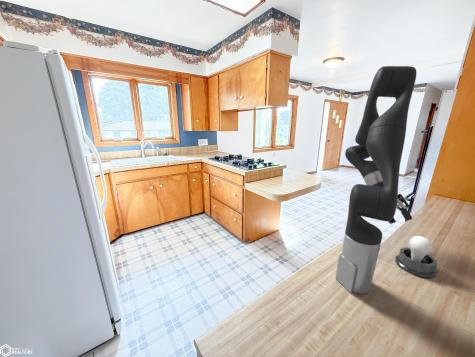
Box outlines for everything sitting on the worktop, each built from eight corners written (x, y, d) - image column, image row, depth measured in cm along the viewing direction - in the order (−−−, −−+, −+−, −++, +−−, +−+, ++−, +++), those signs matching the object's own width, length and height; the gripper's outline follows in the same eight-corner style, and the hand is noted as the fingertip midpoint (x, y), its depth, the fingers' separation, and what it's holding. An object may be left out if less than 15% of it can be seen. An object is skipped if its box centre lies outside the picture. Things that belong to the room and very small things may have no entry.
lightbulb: (431, 271, 65) (440, 243, 62) (410, 268, 66) (418, 241, 63) (418, 259, 70) (426, 233, 67) (399, 257, 72) (406, 231, 69)
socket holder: (422, 281, 62) (425, 270, 60) (387, 259, 72) (390, 249, 70) (444, 274, 64) (448, 263, 63) (408, 254, 75) (411, 244, 73)
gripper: (372, 181, 74) (396, 221, 66) (398, 178, 77) (424, 215, 70) (358, 189, 80) (379, 227, 72) (383, 186, 84) (405, 221, 76)
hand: (401, 221), depth 71 cm, fingers open, 8 cm apart
